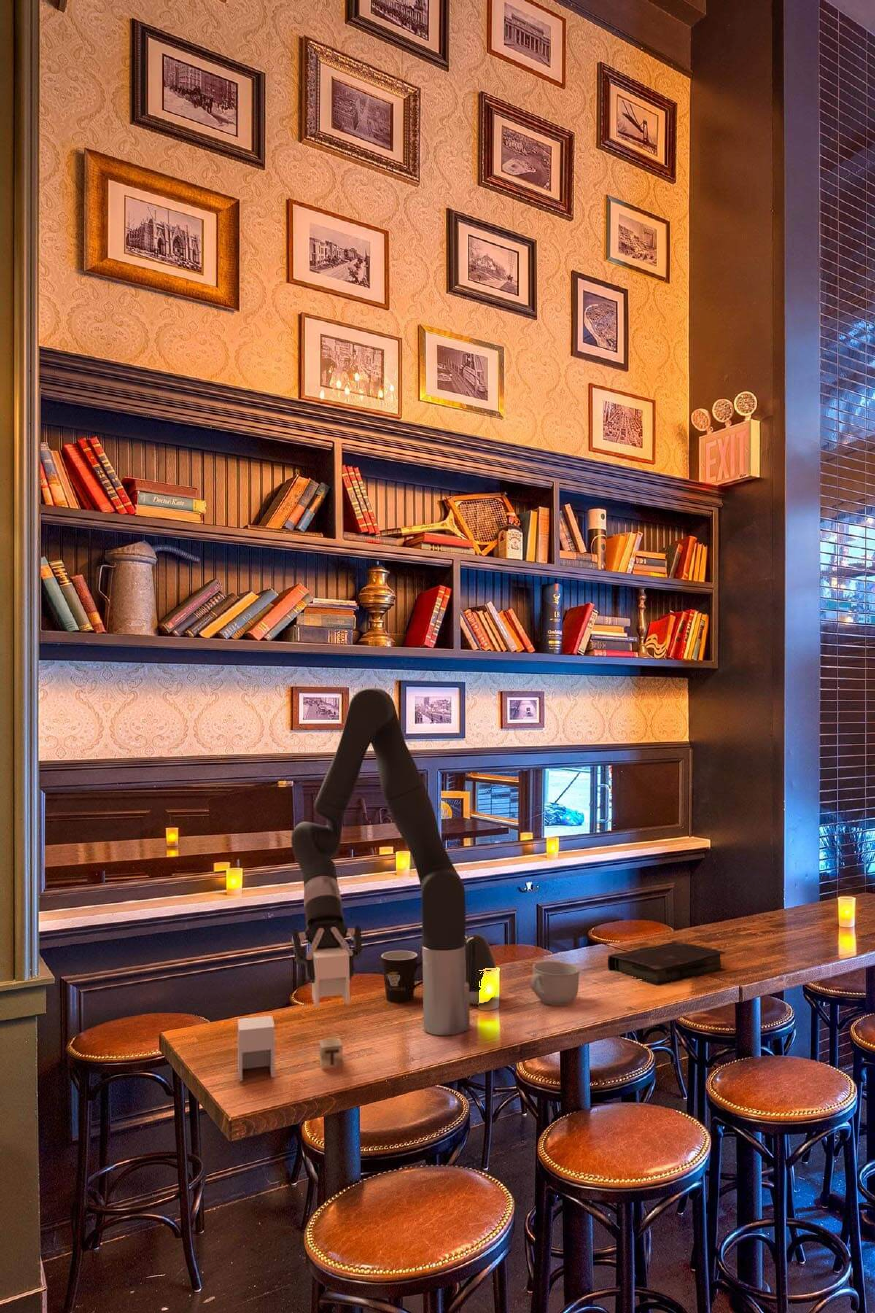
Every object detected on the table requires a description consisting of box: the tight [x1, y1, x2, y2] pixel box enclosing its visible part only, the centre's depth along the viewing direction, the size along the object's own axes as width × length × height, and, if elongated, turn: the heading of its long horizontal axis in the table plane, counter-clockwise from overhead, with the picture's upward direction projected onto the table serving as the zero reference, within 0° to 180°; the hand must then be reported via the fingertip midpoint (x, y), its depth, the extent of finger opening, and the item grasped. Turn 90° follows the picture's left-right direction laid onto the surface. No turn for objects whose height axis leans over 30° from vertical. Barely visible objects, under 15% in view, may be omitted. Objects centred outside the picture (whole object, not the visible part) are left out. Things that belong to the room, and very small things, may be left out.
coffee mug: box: [380, 950, 423, 1004], centre depth 201 cm, size 12×9×10 cm
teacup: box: [529, 960, 580, 1007], centre depth 197 cm, size 14×11×8 cm
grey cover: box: [237, 1015, 276, 1082], centre depth 159 cm, size 6×6×9 cm
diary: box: [607, 941, 727, 986], centre depth 222 cm, size 19×25×5 cm
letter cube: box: [318, 1038, 344, 1070], centre depth 162 cm, size 4×4×4 cm
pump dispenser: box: [465, 933, 497, 1005], centre depth 200 cm, size 10×10×15 cm
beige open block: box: [311, 947, 351, 1008], centre depth 164 cm, size 6×6×9 cm
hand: (331, 979), depth 162 cm, fingers closed on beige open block, 6 cm apart
